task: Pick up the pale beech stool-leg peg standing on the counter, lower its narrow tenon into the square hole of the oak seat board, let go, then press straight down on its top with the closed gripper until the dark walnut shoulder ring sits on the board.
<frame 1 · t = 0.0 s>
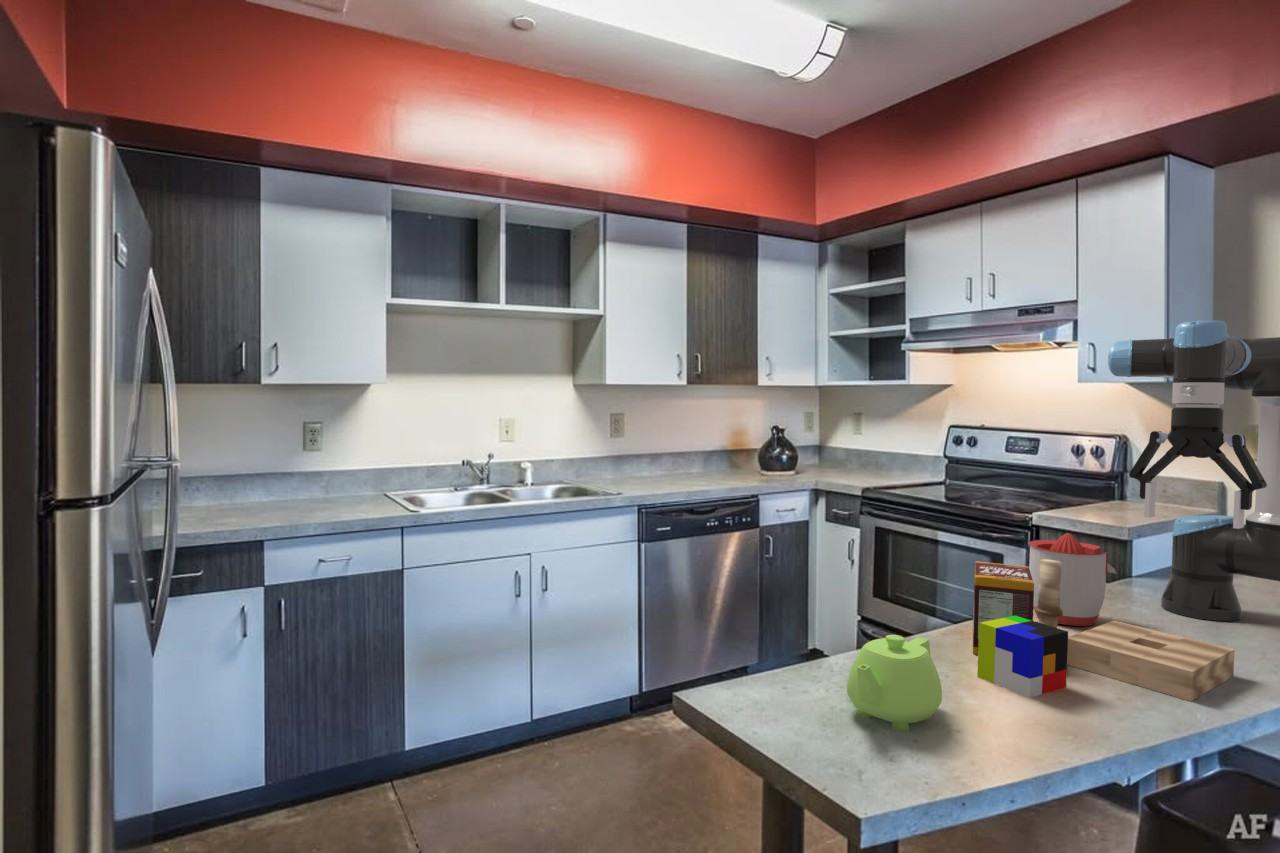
hand: (1192, 522, 132), 28 cm above the countertop, fingers open, 13 cm apart
supplement box: (1000, 647, 146), on the countertop
puzzle toy: (1020, 683, 128), on the countertop
leg peg: (1047, 636, 153), on the countertop
seat board: (1147, 670, 134), on the countertop
teapot: (892, 717, 114), on the countertop
citrus juicer: (1069, 621, 165), on the countertop
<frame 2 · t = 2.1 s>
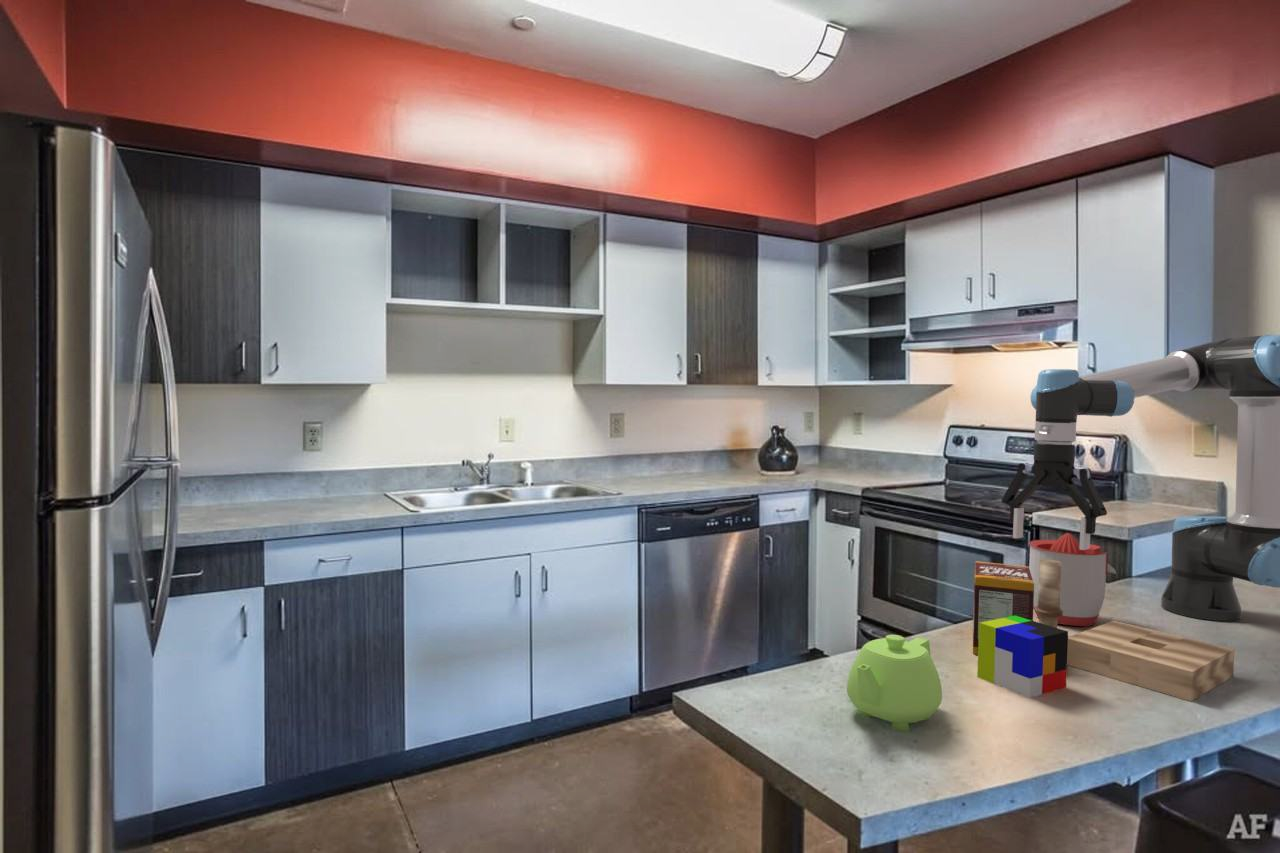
hand: (1049, 543, 152), 20 cm above the countertop, fingers open, 13 cm apart
nothing on the countertop moved.
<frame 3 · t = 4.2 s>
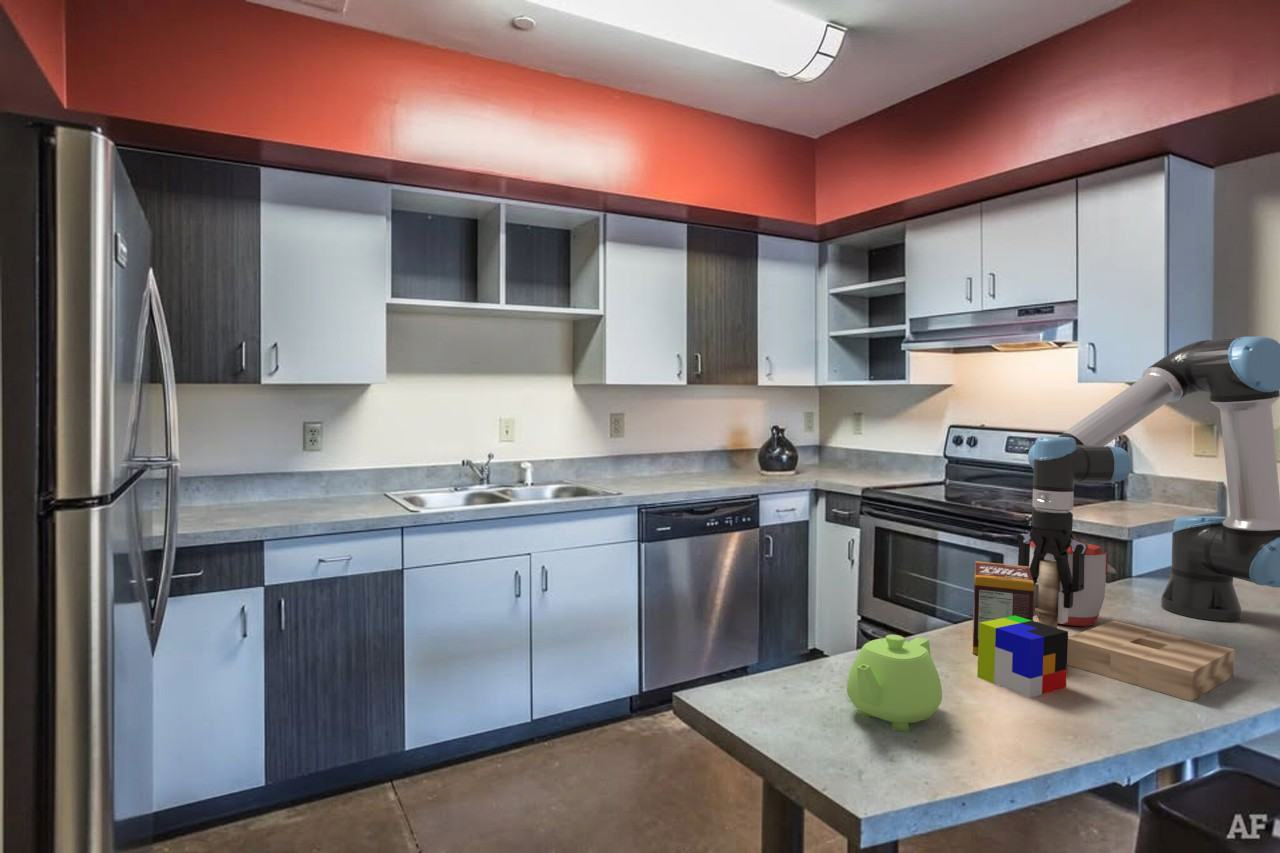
hand: (1048, 618, 153), 4 cm above the countertop, fingers closed on leg peg, 5 cm apart
leg peg: (1047, 636, 153), on the countertop, touching gripper
everything else where it was.
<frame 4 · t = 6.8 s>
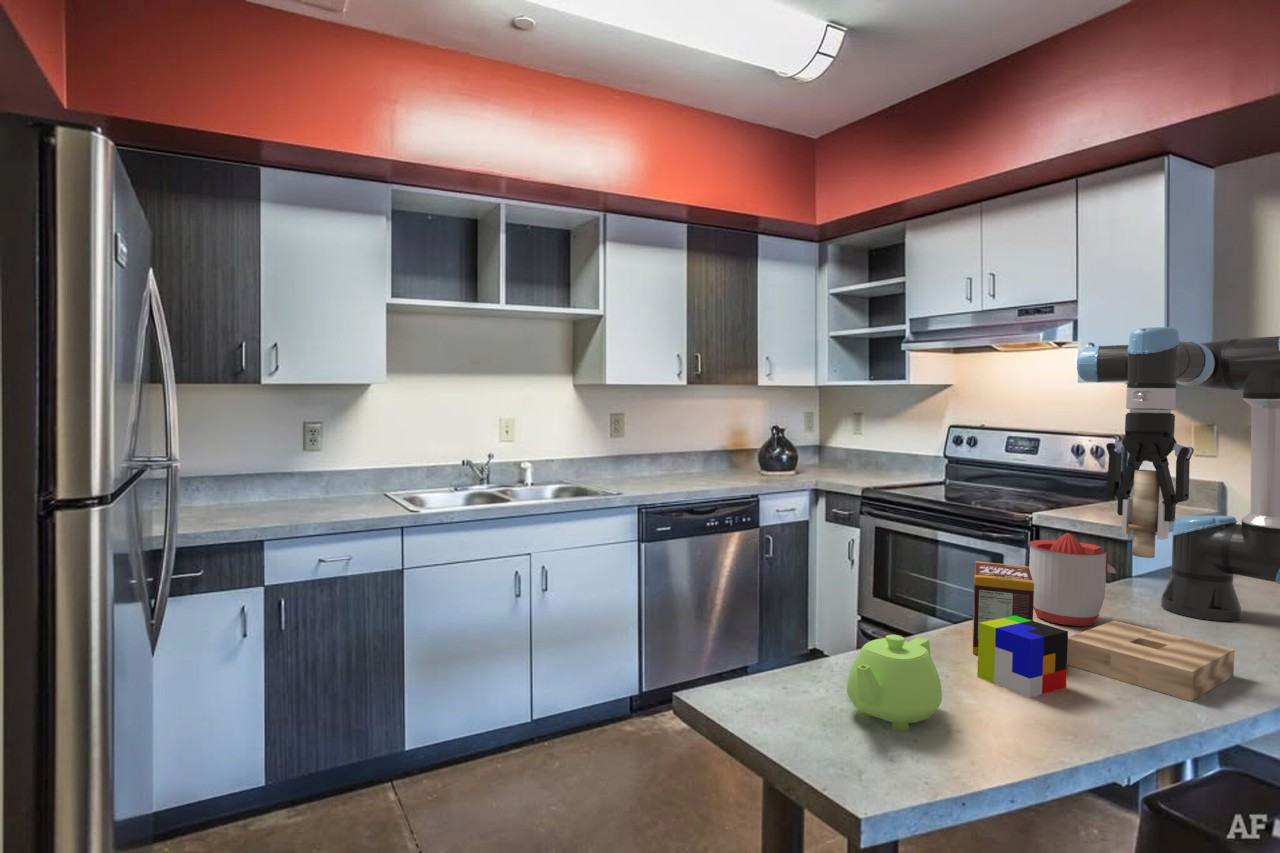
hand: (1144, 535, 135), 25 cm above the countertop, fingers closed on leg peg, 5 cm apart
leg peg: (1143, 555, 135), point 21 cm above the countertop, touching gripper
everything else where it was.
when the fingers open (7 cm above the countertop, at t = 9.5 s): leg peg drops 3 cm, resting on seat board.
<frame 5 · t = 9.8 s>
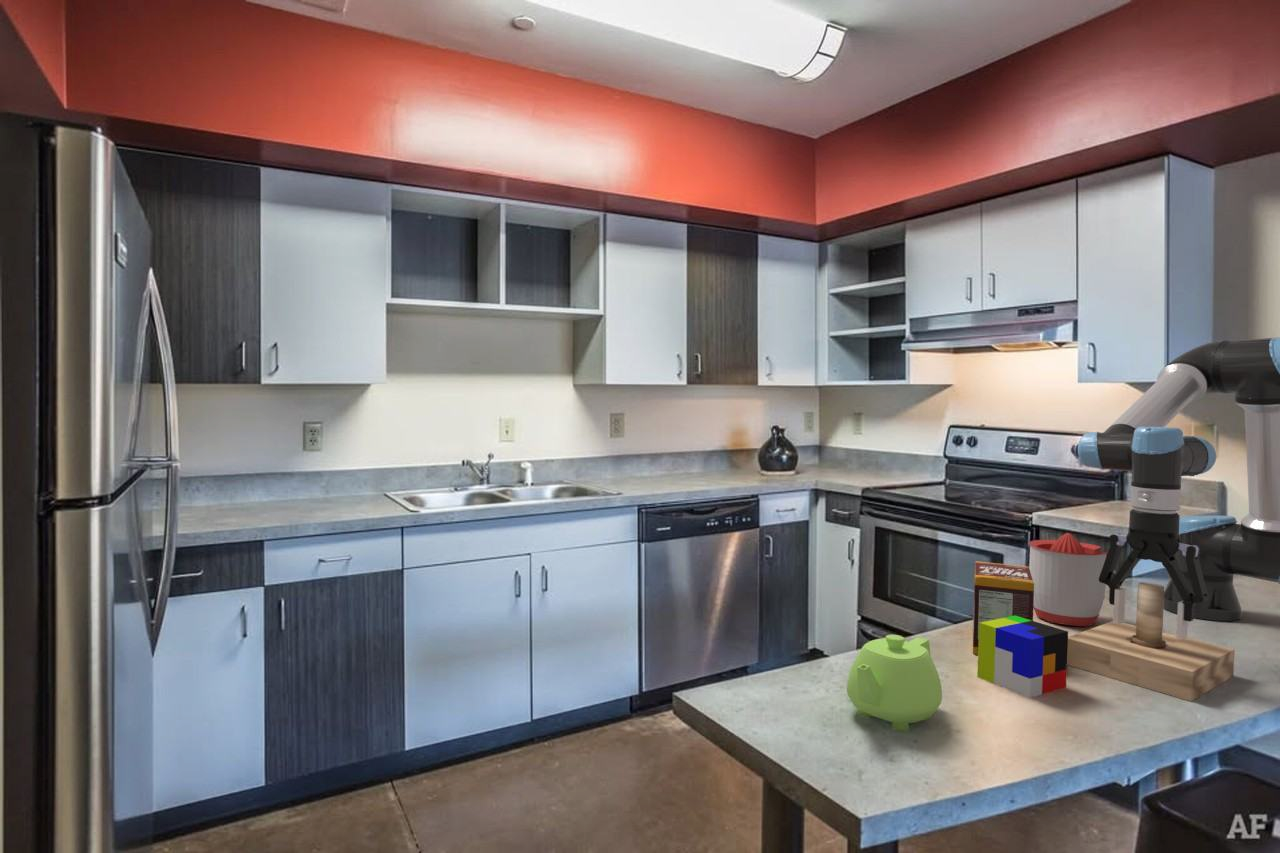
hand: (1149, 629, 134), 8 cm above the countertop, fingers open, 9 cm apart
leg peg: (1147, 670, 134), resting on seat board
everything else where it was.
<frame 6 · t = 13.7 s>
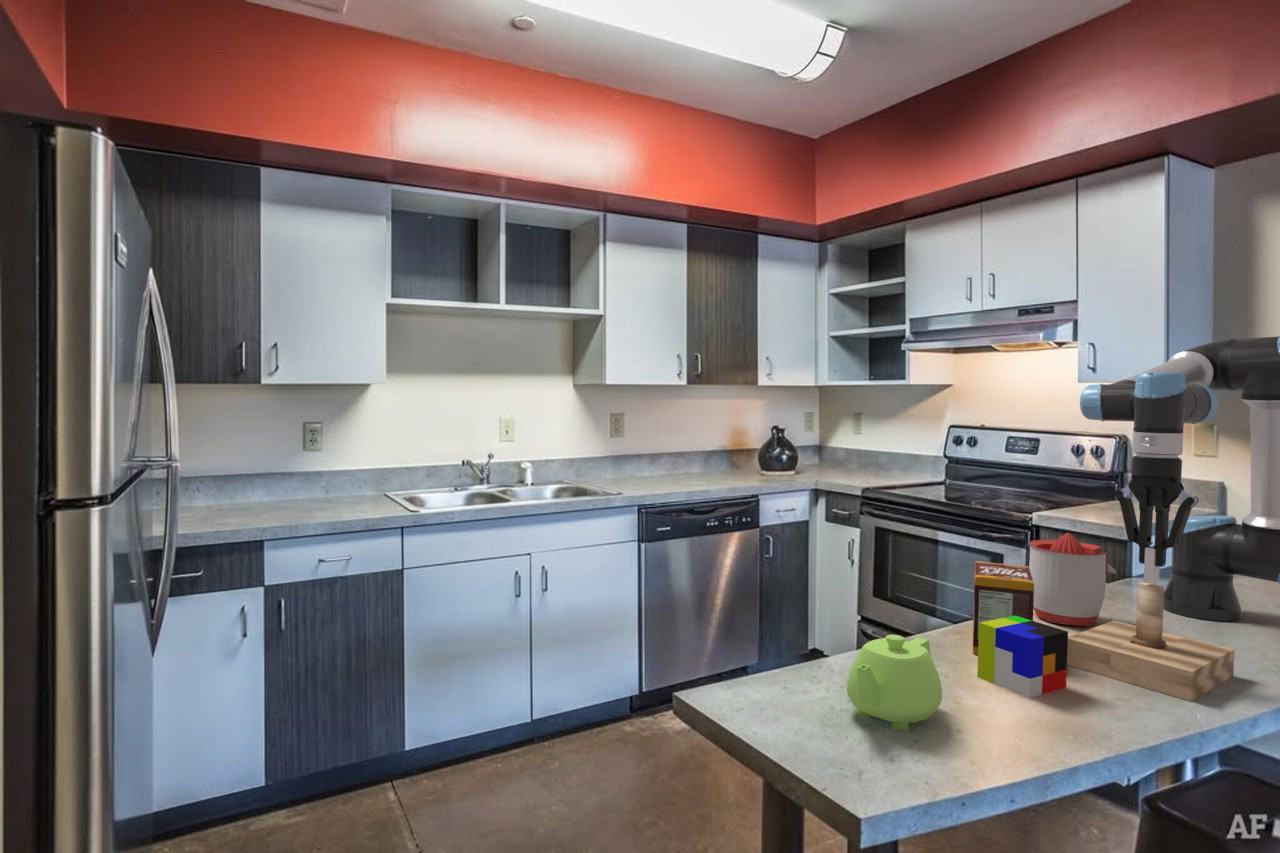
hand: (1151, 582, 134), 17 cm above the countertop, fingers closed
nothing on the countertop moved.
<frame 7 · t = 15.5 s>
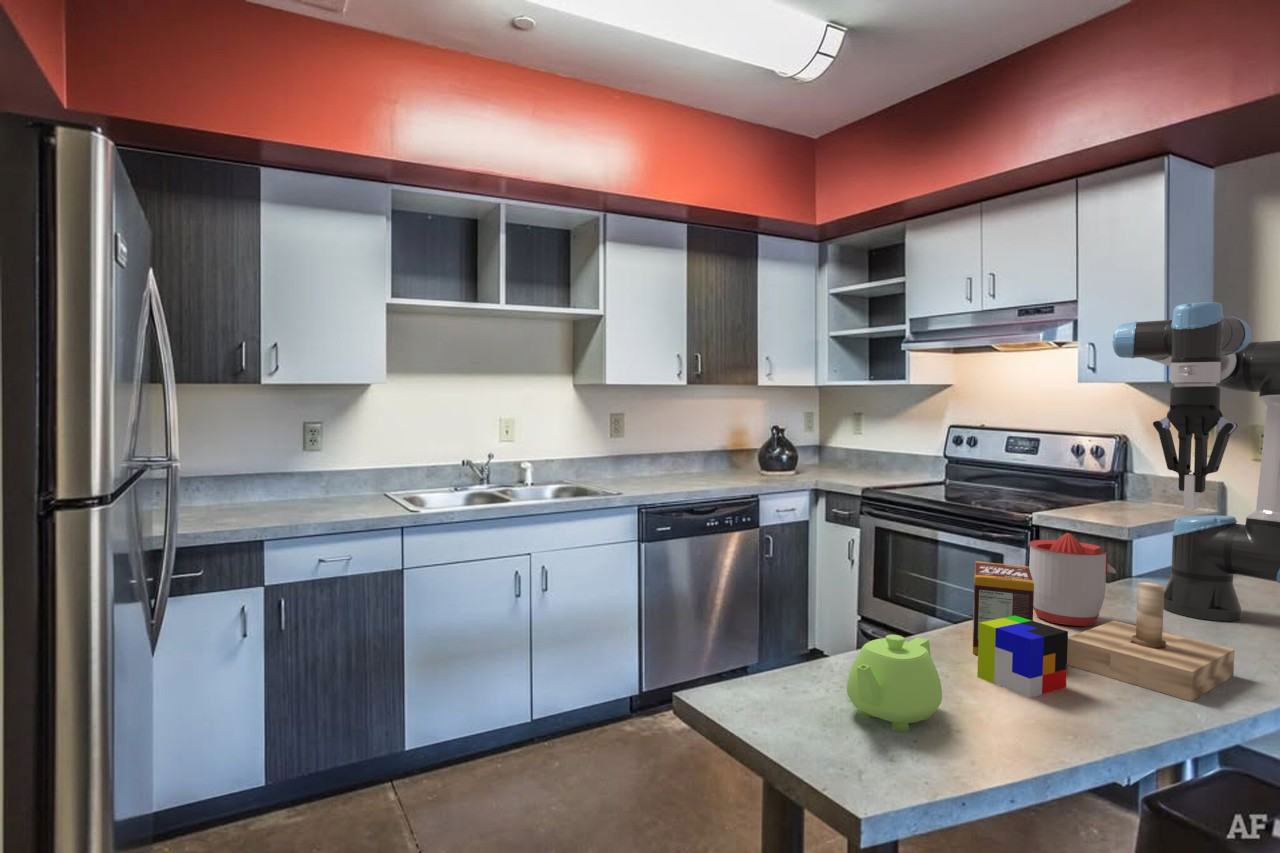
hand: (1191, 508, 138), 30 cm above the countertop, fingers closed
nothing on the countertop moved.
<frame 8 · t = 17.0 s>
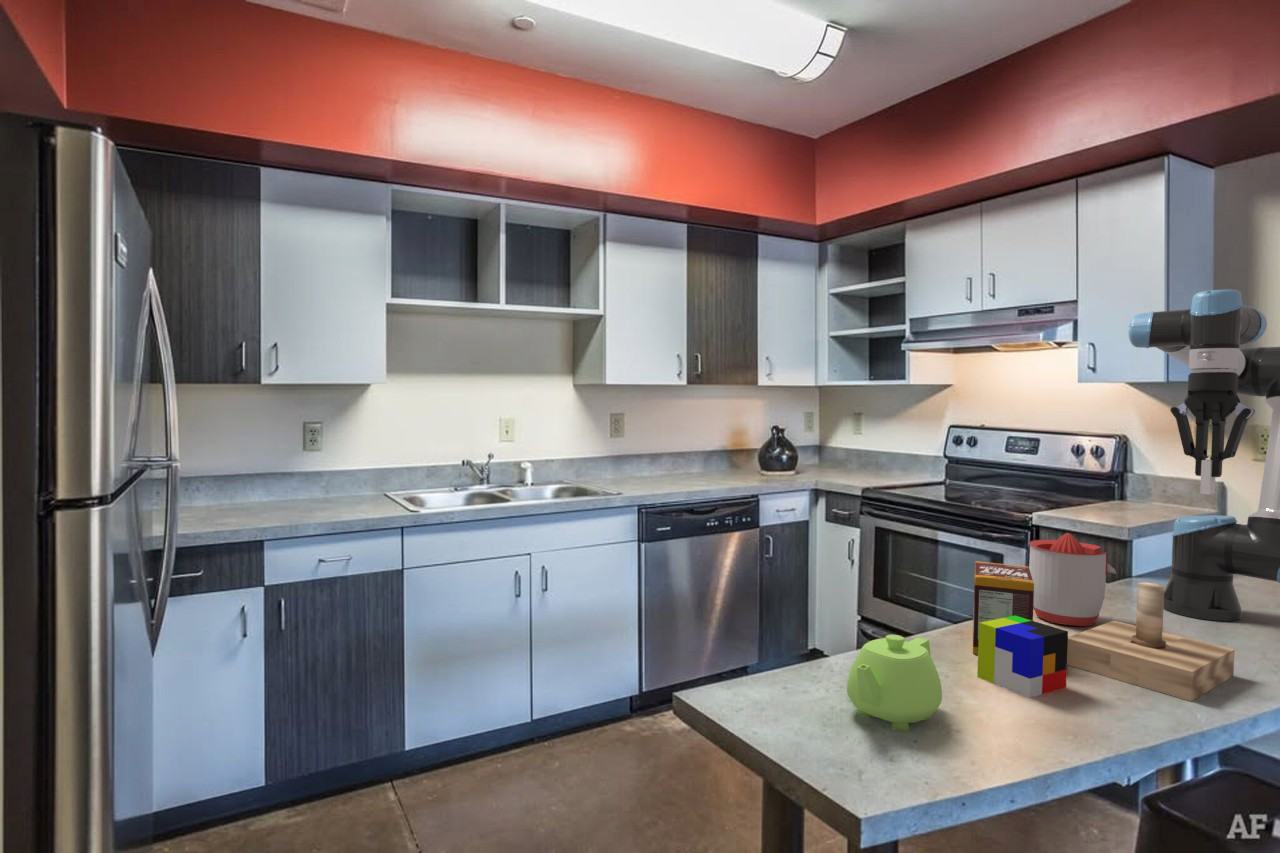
hand: (1207, 493, 140), 32 cm above the countertop, fingers closed
nothing on the countertop moved.
at the end: leg peg 0.1 cm off-centre on the seat board, point 0.0 cm above the seat board's base; leg peg tilted 0°; the gripper is holding nothing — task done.
